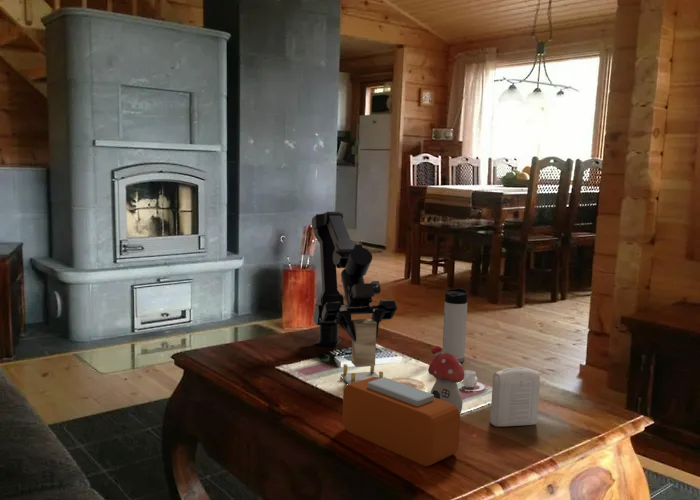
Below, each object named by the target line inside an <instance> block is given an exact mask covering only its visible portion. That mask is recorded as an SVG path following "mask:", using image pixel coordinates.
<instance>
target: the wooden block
mask: <svg viewBox="0 0 700 500" xmlns="http://www.w3.org/2000/svg"><path fill="white" fill-rule="evenodd" d="M352 323H353V326H354V330H355V334H356V341H353V339H352V338H351V364H352V365H353V366H354V367H356V368H361V367H363V368H364V367H370V366H374V367H375V366H376V353H377V352H376V350H377V349H376V348H377V347H376V345H377V344H376V343H377V339H376V325H377V323H376V322H375V321H374V320H373V319H371V318H364V319H363V318H362V319H361V318H360V319H352Z"/></svg>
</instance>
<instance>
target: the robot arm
mask: <svg viewBox="0 0 700 500" xmlns="http://www.w3.org/2000/svg"><path fill="white" fill-rule="evenodd" d="M311 228H312V230H313V235H314V238H315V239H316V240H317V241H318V243H319V250H320V251H319V252H320V253H319V254H320V256H319V257H320V272H321V288H322V289H321V290H322V291H321V293H320V295H319V297H318V299H317V305H316V306H315V310H314V313H313V315H312V316H313V322H314V324H315V325H316V326H318V327H319V330H318V334H319V335H318V339H317V341H316V342H315V345H318V346H327V347H328V346H331V347H337V346H338V345H339V344H341V342H342V339H341V338H339V326H340V327H341V328H342V329H343V330H344V331H345V332H346V333H347V334H348V336H349V337H350V339H351V340H352V339H353V341H356V334H355V330H354V326H353V322H352V320H353V319H352V316H353V315H370V316H371V318H370V319H373V320H374V321H375V322H376V323H377V325H376V340H377V339H378V334H379V326H380V323H381V322H382V320H383V321H384V320H391V319H393V317H394V316H395V314H396V311H397V310H398V305H397V302H396V301H395V300H394V299H380V301H379V302H378V304H377V305H370V304H372V302H373V298H374V297H375V295H379V294H380V293H381V291H382V290H381V284H380V280H373V281H371V282H370V283H365V279H364V276H366V275H367V273H368V270H369V269H370V268H369V267H371V266H370V265H371V263H372V260H373V255H372V252H370V250H368V249H367V248H365V247H363V244H362V243H361V244H360V243H359V244H358V243H357V242H356V241H353V240H352V239H351V237H350V235H349V233H348V232H349V231H348V230H347V227H346V224H345V222H344V216H343V212H341V211H326V212H323V213H317V214H315V215H314V216H312V218H311ZM337 269H343V270H342V271H341V273H340V276H341V277H340V278H341V280H340V282H341V284H342V288H343V291H344V292H343V293H344V295H343V294H341V293H340V291H339V290H338V276H337V275H338V274H337V273H338V272H337ZM344 302H346V304H345V303H344Z"/></svg>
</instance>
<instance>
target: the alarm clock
mask: <svg viewBox="0 0 700 500" xmlns="http://www.w3.org/2000/svg"><path fill="white" fill-rule="evenodd" d="M341 421H342V425H343V428H344V429H345V431H346V432H349V433H350V434H353V435H354V436H356V437H359V438H361V439H363V440H366V441H368V442H371V443H372V444H375V445H377V446H379V447H381V448H384V449H386V450H388V451H390V452H391V453H395V454H397V455H399V456H401V457H404V458H405V459H408V460H410V461H413V462H414V463H416V464H419V465H421V466H424V467H430V466H432V465H435V464H436V463H438V462H440V461H443V460H444V459H447V458H449V457H451V456H453V455H455V454H456V453H457V452H458V450H459V445H460V429H461V426H460V425H461V413H460V412H459V410H458V408H457V407H456V406H455V405H454V404H452V403H449V402H446V401H443V400H441V399H438V398H435V397H434V394H431V392H427V391H424V390H421V389H419V388H416V387H413V386H410V385H407V384H405V383H402V382H399V381H396V380H393V379H390V378H387V377H384V376H383V378H378V377H371V378H368V379H365V380H362V381H358V382H355V383H352V384H349V385H347V384H346V385H345V386H344V388H343V392H342V420H341Z"/></svg>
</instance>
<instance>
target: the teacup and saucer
mask: <svg viewBox="0 0 700 500" xmlns="http://www.w3.org/2000/svg"><path fill="white" fill-rule="evenodd" d="M476 373H477V372H476V371H474V370H471V369H466V370H464V379H463V382H462V383H463V385H464V387H465V386H466V387H465V388H468V387H472V388H473V387H474V386H475V385H478V386H479V388H477V389H465V391H464V392H470V391H473V393H474V392H480V391H483V390H484V389H485V385H484V384H483V383H481V382H478V377H477V374H476Z"/></svg>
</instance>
